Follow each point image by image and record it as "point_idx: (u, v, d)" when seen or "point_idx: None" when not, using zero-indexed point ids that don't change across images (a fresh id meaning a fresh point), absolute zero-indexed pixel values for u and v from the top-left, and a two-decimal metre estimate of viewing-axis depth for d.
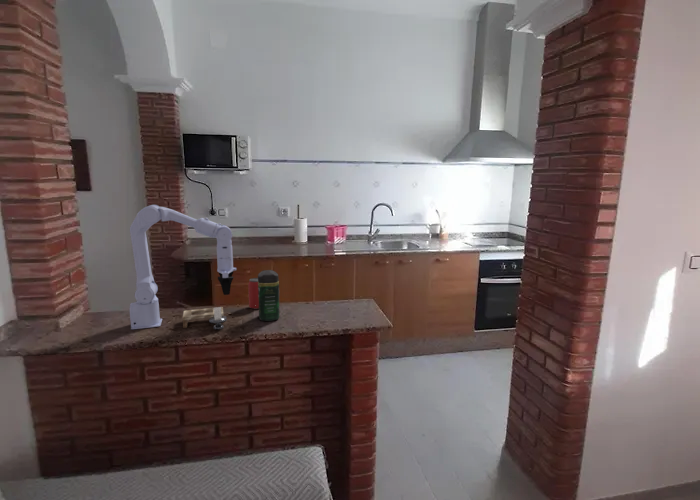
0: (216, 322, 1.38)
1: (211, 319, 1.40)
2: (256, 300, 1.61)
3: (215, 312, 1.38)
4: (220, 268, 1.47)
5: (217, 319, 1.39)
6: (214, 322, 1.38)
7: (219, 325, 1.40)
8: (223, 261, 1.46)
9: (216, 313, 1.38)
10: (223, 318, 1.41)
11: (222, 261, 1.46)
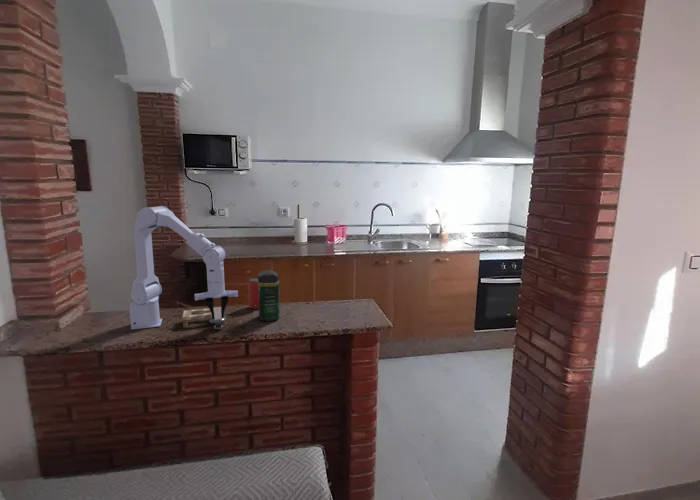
0: (216, 322, 1.38)
1: (211, 319, 1.40)
2: (256, 300, 1.61)
3: (215, 312, 1.38)
4: None
5: (217, 319, 1.39)
6: (214, 322, 1.38)
7: (219, 325, 1.40)
8: None
9: (216, 313, 1.38)
10: (223, 318, 1.41)
11: None
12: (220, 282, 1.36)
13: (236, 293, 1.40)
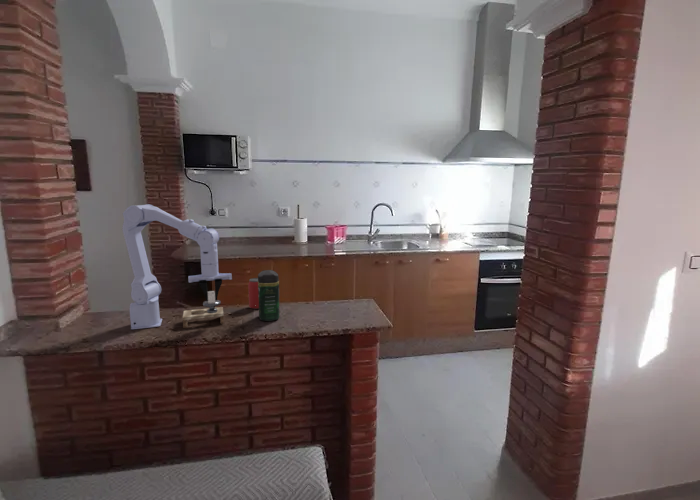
0: (210, 305, 1.38)
1: (205, 303, 1.40)
2: (256, 300, 1.61)
3: (209, 295, 1.38)
4: None
5: (211, 302, 1.39)
6: (208, 305, 1.38)
7: (213, 309, 1.41)
8: None
9: (210, 296, 1.39)
10: (217, 302, 1.41)
11: None
12: (214, 264, 1.37)
13: (230, 276, 1.41)
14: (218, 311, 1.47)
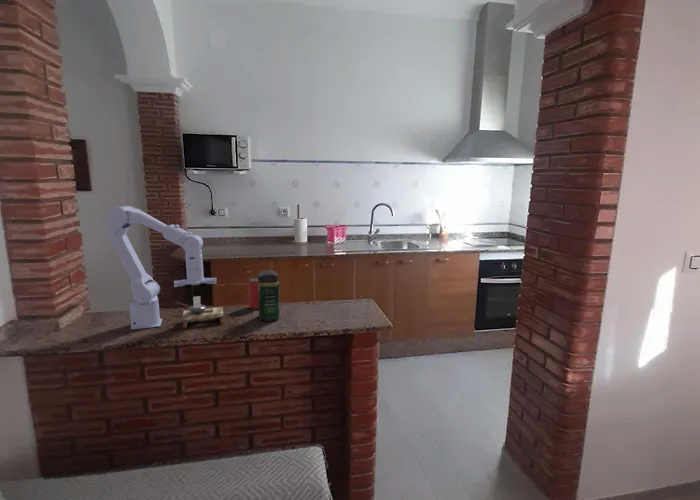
0: (195, 310, 1.42)
1: (191, 307, 1.44)
2: (256, 300, 1.61)
3: (194, 300, 1.43)
4: None
5: (196, 307, 1.43)
6: (193, 310, 1.42)
7: (198, 313, 1.45)
8: None
9: (196, 301, 1.43)
10: (202, 307, 1.45)
11: None
12: (198, 269, 1.41)
13: (215, 280, 1.45)
14: (218, 311, 1.47)
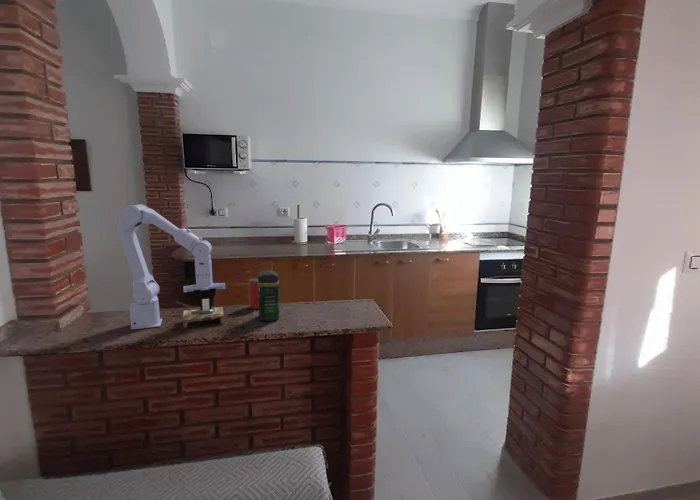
0: (204, 313, 1.44)
1: (199, 310, 1.46)
2: (256, 300, 1.61)
3: (203, 303, 1.44)
4: None
5: (205, 310, 1.45)
6: (202, 313, 1.44)
7: None
8: None
9: (204, 304, 1.44)
10: (211, 309, 1.47)
11: None
12: (208, 275, 1.42)
13: (223, 285, 1.46)
14: (218, 311, 1.47)
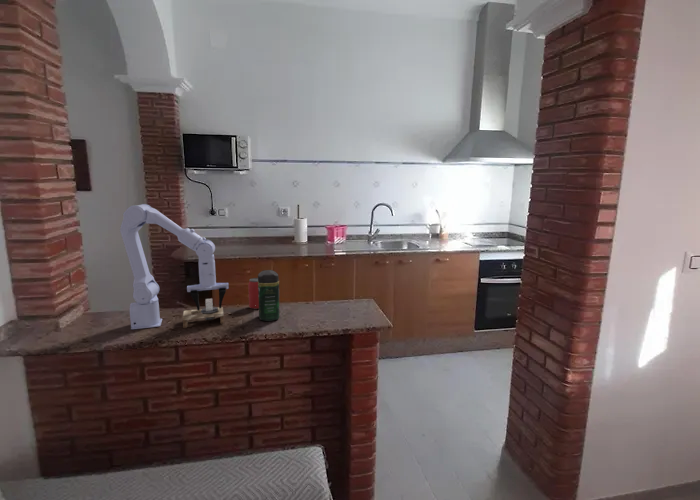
0: (207, 313, 1.44)
1: (203, 310, 1.46)
2: (256, 300, 1.61)
3: (206, 303, 1.44)
4: None
5: (208, 310, 1.45)
6: (205, 313, 1.44)
7: None
8: None
9: (208, 304, 1.44)
10: (214, 309, 1.47)
11: None
12: (211, 274, 1.43)
13: (227, 285, 1.47)
14: (218, 311, 1.47)
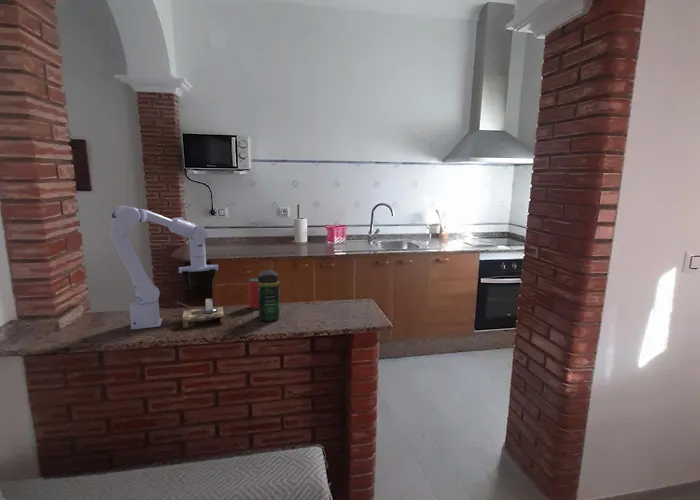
0: (207, 313, 1.44)
1: (203, 310, 1.46)
2: (256, 300, 1.61)
3: (206, 303, 1.44)
4: None
5: (208, 310, 1.45)
6: (205, 313, 1.44)
7: None
8: None
9: (208, 304, 1.44)
10: (214, 309, 1.47)
11: None
12: (202, 256, 1.52)
13: (216, 267, 1.56)
14: (218, 311, 1.47)
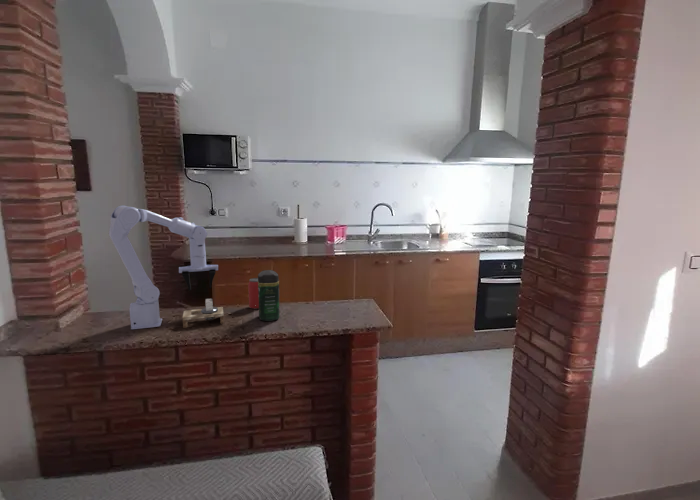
0: (207, 313, 1.44)
1: (203, 310, 1.46)
2: (256, 300, 1.61)
3: (206, 303, 1.44)
4: None
5: (208, 310, 1.45)
6: (205, 313, 1.44)
7: None
8: None
9: (208, 304, 1.44)
10: (214, 309, 1.47)
11: None
12: (201, 256, 1.52)
13: (216, 267, 1.56)
14: (218, 311, 1.47)
